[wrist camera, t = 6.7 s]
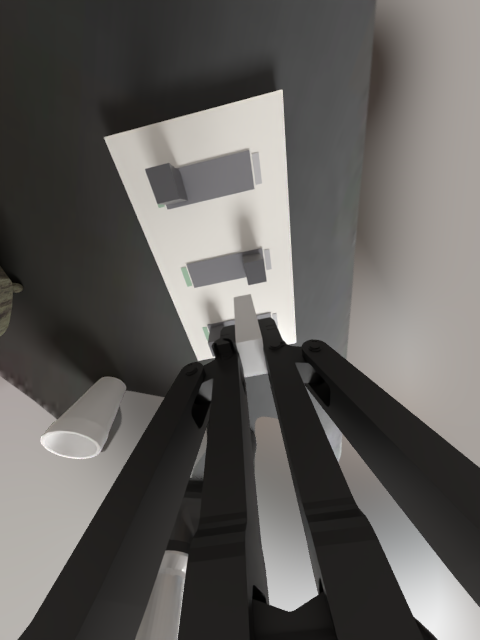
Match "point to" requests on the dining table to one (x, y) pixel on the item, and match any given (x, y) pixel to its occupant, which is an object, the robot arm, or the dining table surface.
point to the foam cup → (86, 421)
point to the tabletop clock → (6, 299)
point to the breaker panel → (217, 211)
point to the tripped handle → (254, 268)
